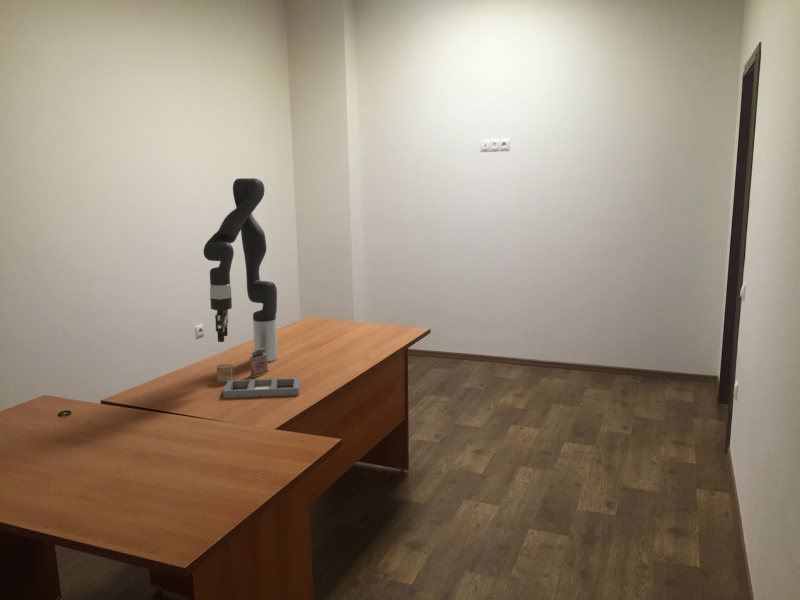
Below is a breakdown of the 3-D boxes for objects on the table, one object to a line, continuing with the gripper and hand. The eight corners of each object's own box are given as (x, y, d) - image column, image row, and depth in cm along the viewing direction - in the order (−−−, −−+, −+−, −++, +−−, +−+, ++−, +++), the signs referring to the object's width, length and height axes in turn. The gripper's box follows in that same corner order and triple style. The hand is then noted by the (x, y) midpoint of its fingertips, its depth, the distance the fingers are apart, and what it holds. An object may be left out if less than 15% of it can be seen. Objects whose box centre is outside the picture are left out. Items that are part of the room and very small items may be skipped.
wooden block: (219, 379, 243) (218, 364, 242) (232, 379, 244) (231, 364, 242) (217, 383, 239) (216, 367, 238) (231, 382, 240) (230, 367, 239)
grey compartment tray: (228, 387, 235) (227, 380, 234) (299, 384, 238) (299, 377, 237) (223, 398, 223) (223, 391, 223) (298, 395, 226) (298, 388, 226)
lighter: (254, 377, 245) (253, 352, 243) (248, 375, 247) (247, 350, 245) (270, 372, 252) (269, 347, 250) (264, 370, 254) (263, 346, 252)
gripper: (213, 292, 241) (215, 334, 244) (207, 299, 228) (209, 344, 231) (233, 292, 242) (235, 334, 245) (228, 299, 228) (230, 343, 232)
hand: (222, 338), depth 238 cm, fingers open, 8 cm apart
